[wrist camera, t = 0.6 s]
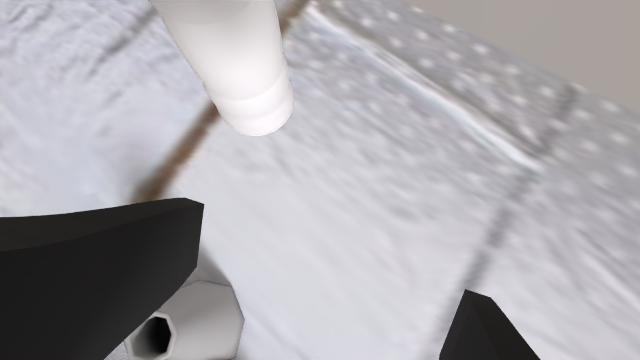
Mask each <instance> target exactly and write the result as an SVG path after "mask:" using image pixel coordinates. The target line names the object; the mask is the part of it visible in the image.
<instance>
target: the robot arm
mask: <svg viewBox="0 0 640 360" xmlns="http://www.w3.org/2000/svg"><path fill="white" fill-rule="evenodd" d="M203 210H204V204H203V203H200V202H197V201H193V200H190V199H187V198H171V199H163V200H156V201H149V202H143V203H137V204H131V205H124V206H118V207H112V208H105V209H97V210H89V211H82V212H74V213H66V214H55V215H42V216H26V217H0V360H104V359H105V358H106V357H107V356H108V355H109V354H110V353H111V352H112V351H113V350H114V349H115V348H116V347H117V346H118V345H119V344H120V343H122V342H123V341H124V340H125V339H126V338H127V337H128V336H129V335H130V334H131V333H133V332H134V331H135V330H136V329H137V328H138V327H139V326H140V325H141V324H142V323H143V322H145V321H146V320H147V319H148V318H149V317H150V316H151V315H152V314H153V313H154V312H156V311H157V310H158V309H159V308H160V307H161V306H162V305H163V304H164V303H165V302H166V301H167V300H168V299H169V298H170V297H172V296H173V295H174V294H175V293H176V291H177V290H178V289H179V288H180V287H181V285H182V284H183V283H184V282H185V281H186V279H187V278H188V277H189V276H190V274H191V273H192V272H193V271H194V269H195V268H196V267H197V259H198V250H199V242H200V234H201V226H202V218H203ZM439 360H540V358H539V357H538V356H537V355H536V354H535V352H534V351H533V350H532V349H531V347H530V346H529V345H528V344H527V342H526V341H525V340H524V339H523V337H522V336H521V335H520V334H519V332H518V331H517V330H516V328H515V327H514V326H513V324H512V323H511V322H510V321H509V319H508V318H507V317H506V315H505V314H504V313H503V312H502V310H501V309H500V308H499V307H498V305H497V304H496V303H495V302H494V301H493V300H492V298H491V297H487V296H484V295H481V294H478V293H475V292H472V291H469V290H466V289H465V291H464V294H463V296H462V299H461V301H460V304H459V306H458V309H457V311H456V314H455V317H454V319H453V322H452V324H451V327H450V329H449V332H448V334H447V337H446V340H445V342H444V345H443V347H442V350H441V352H440V357H439Z"/></svg>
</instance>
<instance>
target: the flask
mask: <svg viewBox="0 0 640 360" xmlns="http://www.w3.org/2000/svg"><path fill="white" fill-rule="evenodd" d="M244 321H245V320H244V317H243V315H242V312H241V309H240V307H239V304H238V302H237V299H236V296H235V294H234V291H233V289H232V287H228V286H224V285H220V284H215V283H211V282H207V281H202V280H198V281H196V282H194V283H192V284H190V285H187V286H185V287H183V288H181V289H179V290H177V291H176V293H175V294H174V295H173V296H172V297H170V298H169V299H168V300H167V301H166V302H165V303H164V304H163V305H162V306H161V308H160V310H157V311H156V312H154V313H153V314H152V315H151V316H150V317H149V318H148V319H147V320H146V321H145V322H143V323H142V324H141V325H140V326H139V327H138V328H137V329H136V330H135V331H134V332H133V333H131V334H130V335H129V336H128V337H127V338H126V339H125V340H124V345H125V348H126V351H127V354H128V358H129V360H230V359H232V358H234V357H235V356H236V352H237V348H238V344H239V340H240V337H241V333H242V329H243V325H244Z"/></svg>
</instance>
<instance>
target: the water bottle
mask: <svg viewBox="0 0 640 360" xmlns="http://www.w3.org/2000/svg"><path fill="white" fill-rule="evenodd" d="M149 1H150V2H151V3H152V5H153V6H154V7H156V8H157V10H158V12H159V14H160V16H161V18H162V20H163V22H164V24H165V26H166V28H167V30H168V31H169V33H170V35H171V36H172V38H173V40H174V42H175V43H176V45H177V46H178V48H179V50H180V51H181V53H182V54H183V56H184V57H185V59H186V61H187V62H188V63H189V65H190V66H191V68H192V69H193V71H194V72H195V73H196V75H197V76H198V77H199V78H200V80H201V81H202V83H203V86H204V88H205V90H206V92H207V94H208V95H209V97H210V98H211V100H212V101H213V102H214V103H215V105H216V107H217V109H218V111H219V113H220V115H221V116H222V118H223V119H224V121H225V122H226V123H227V124H228V125H229V126H230V127H231V128H232V129H233V130H235V131H237V132H239V133H241V134H244V135H249V136H261V135H266V134H269V133H271V132H273V131H275V130H277V129H278V128H280V127H281V126H282V125H283V124H284V123H285V122H286V121H287V119H288V118H289V116H290V114H291V112H292V109H293V105H294V94H293V88H292V84H291V81H290V78H289V72H288V65H287V61H286V58H285V55H284V53H283V50H282V40H281V33H280V27H279V22H278V16H277V12H276V7H275V3H274V0H149Z"/></svg>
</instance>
